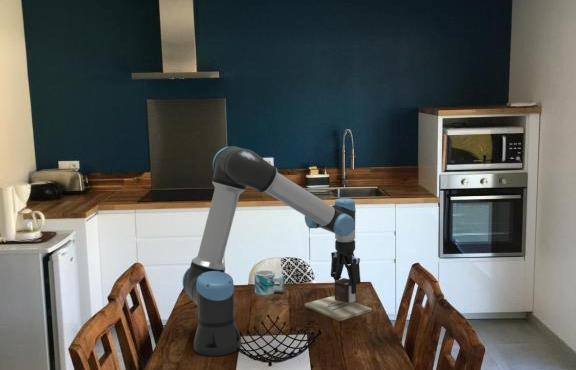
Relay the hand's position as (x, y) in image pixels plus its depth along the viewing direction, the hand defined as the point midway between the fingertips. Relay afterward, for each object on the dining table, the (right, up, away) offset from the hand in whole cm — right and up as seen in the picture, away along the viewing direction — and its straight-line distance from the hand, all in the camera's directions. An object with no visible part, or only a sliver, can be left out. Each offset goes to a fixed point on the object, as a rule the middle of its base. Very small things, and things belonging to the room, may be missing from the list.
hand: (345, 298), depth 228 cm
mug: (-29, -1, +18) cm, 35 cm away
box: (0, -1, 0) cm, 1 cm away
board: (-3, -3, -2) cm, 5 cm away
